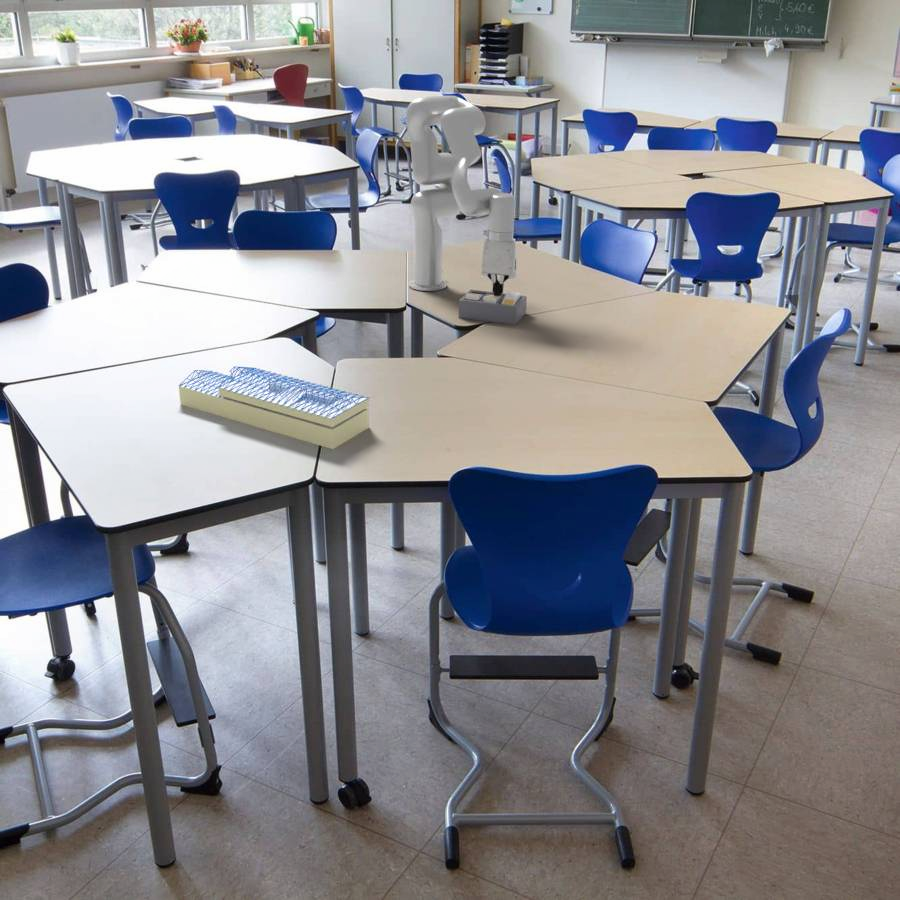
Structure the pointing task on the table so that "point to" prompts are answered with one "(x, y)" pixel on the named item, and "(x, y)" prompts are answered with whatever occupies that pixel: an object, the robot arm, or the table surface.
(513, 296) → the rocker outlet
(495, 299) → the outlet rocker
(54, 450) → the table surface
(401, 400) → the table surface
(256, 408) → the keyboard
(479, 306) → the grey storage tray
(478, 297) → the outlet rocker
